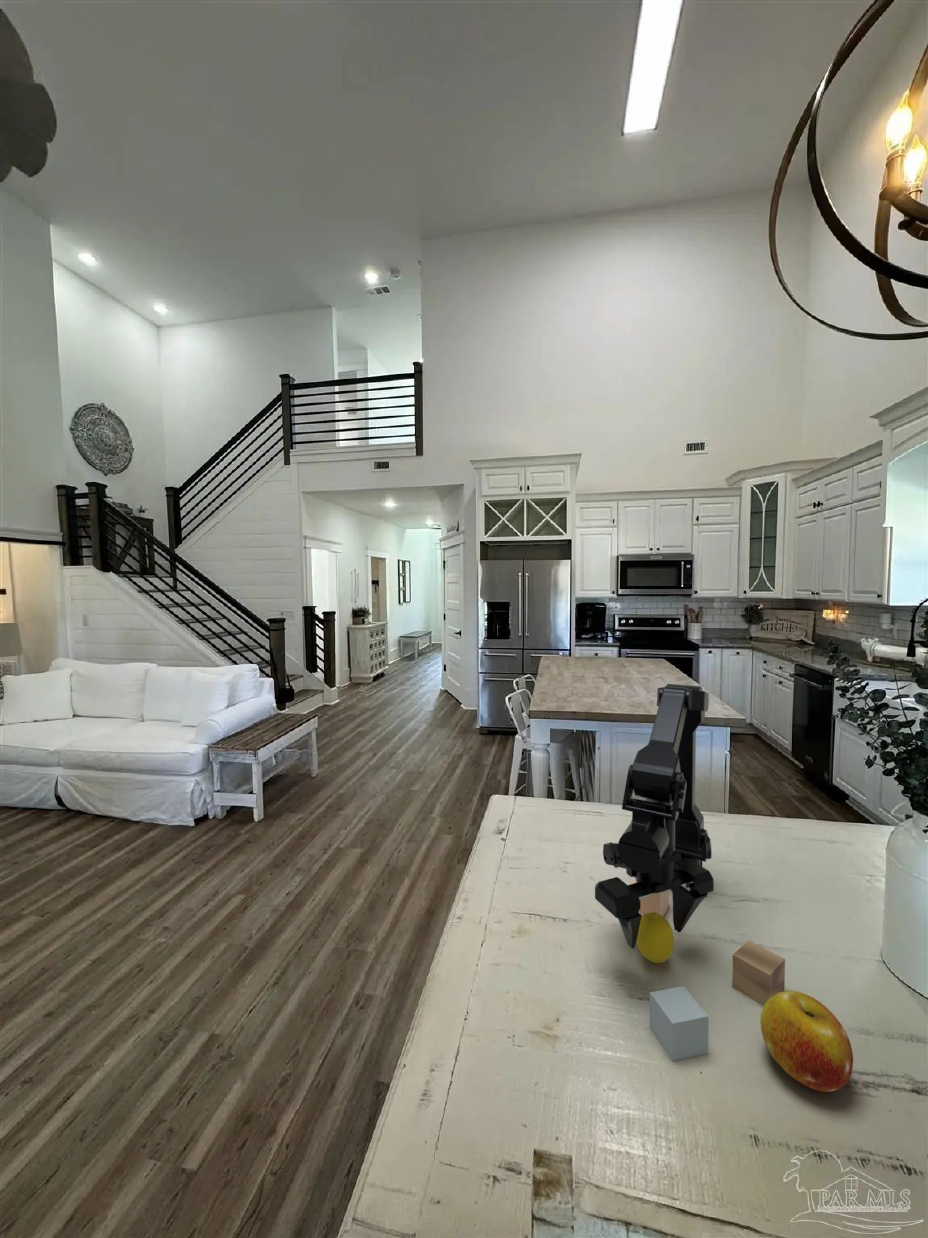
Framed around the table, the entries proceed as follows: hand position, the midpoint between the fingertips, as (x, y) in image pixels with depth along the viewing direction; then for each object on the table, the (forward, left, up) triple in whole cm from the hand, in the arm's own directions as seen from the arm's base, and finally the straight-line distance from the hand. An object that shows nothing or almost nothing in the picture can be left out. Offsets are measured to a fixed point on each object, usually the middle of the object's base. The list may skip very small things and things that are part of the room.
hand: (654, 938), depth 80 cm
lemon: (0, 0, -4) cm, 4 cm away
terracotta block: (-9, -11, -4) cm, 15 cm away
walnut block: (-10, +10, -4) cm, 15 cm away
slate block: (+7, +12, -4) cm, 15 cm away
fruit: (-4, +21, -4) cm, 22 cm away
